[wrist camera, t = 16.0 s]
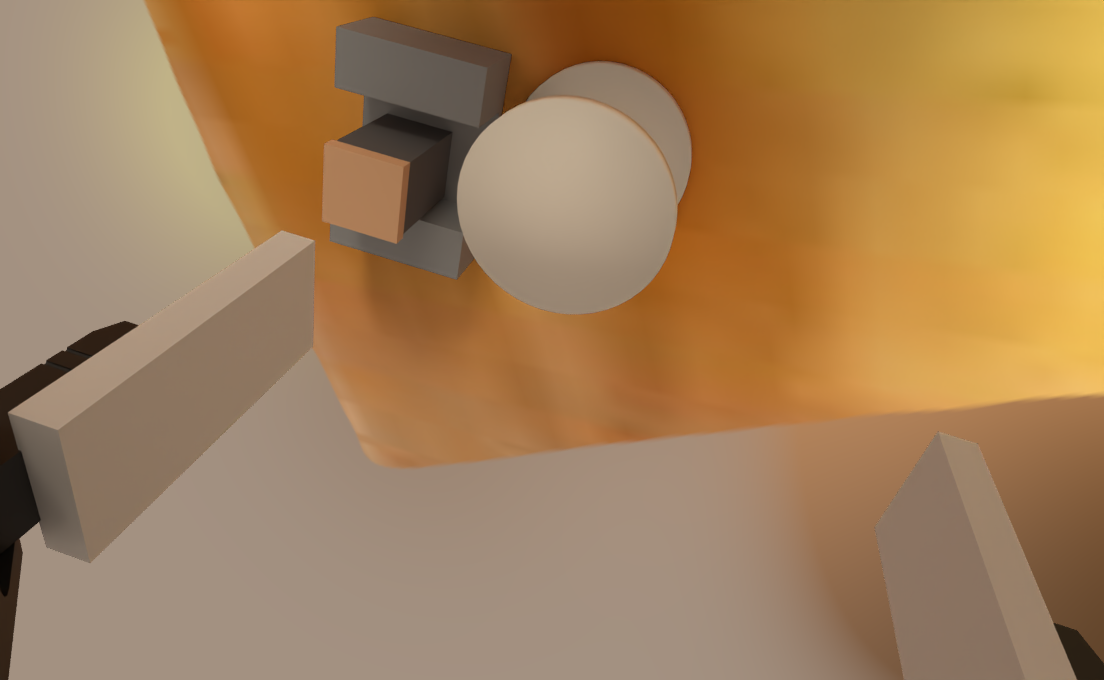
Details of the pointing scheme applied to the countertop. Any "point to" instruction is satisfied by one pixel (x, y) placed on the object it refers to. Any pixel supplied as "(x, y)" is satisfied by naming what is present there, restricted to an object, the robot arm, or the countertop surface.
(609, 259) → the bobbin
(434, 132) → the tan and grey block
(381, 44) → the notch board
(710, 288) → the countertop surface
